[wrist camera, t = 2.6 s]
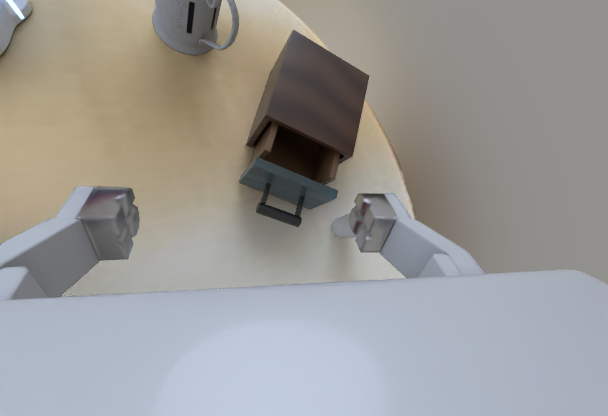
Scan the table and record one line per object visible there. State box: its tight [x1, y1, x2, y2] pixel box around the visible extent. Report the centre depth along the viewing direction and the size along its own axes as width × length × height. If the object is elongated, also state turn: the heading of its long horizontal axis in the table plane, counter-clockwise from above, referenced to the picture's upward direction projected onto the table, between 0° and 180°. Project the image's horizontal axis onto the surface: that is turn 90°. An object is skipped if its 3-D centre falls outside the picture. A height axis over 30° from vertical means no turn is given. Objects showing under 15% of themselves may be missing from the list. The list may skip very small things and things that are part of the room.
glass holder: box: [152, 0, 239, 55], centre depth 36 cm, size 9×14×15 cm, turn 31°
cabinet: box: [246, 30, 369, 165], centre depth 43 cm, size 14×13×10 cm
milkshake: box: [331, 212, 357, 238], centre depth 43 cm, size 4×5×10 cm
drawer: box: [239, 121, 340, 227], centre depth 40 cm, size 17×11×8 cm
